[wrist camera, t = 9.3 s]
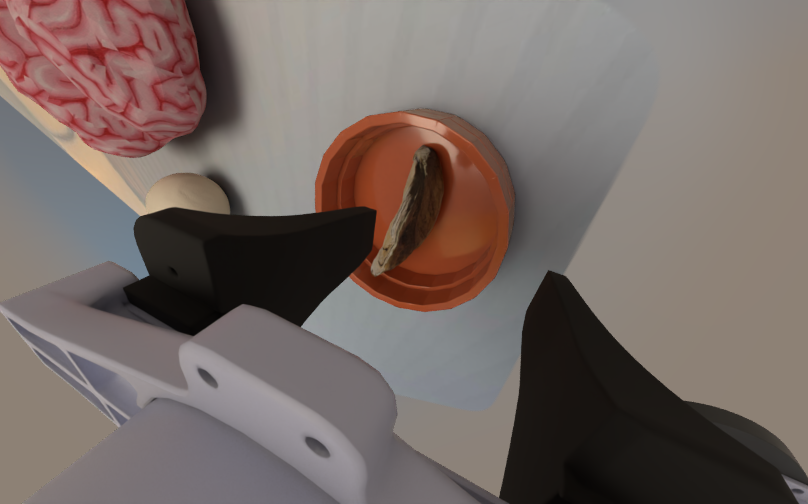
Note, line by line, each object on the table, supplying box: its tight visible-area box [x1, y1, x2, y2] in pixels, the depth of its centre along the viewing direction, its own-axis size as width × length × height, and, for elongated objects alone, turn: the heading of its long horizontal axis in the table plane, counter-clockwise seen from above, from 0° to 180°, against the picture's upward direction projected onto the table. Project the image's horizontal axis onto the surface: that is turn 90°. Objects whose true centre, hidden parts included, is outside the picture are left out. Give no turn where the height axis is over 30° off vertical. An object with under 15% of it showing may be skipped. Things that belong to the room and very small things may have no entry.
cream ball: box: [146, 173, 230, 215], centre depth 30 cm, size 7×7×7 cm
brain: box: [0, 0, 207, 158], centre depth 22 cm, size 19×18×10 cm
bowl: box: [315, 108, 515, 312], centre depth 21 cm, size 14×14×4 cm
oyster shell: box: [371, 145, 444, 277], centre depth 21 cm, size 6×4×10 cm
